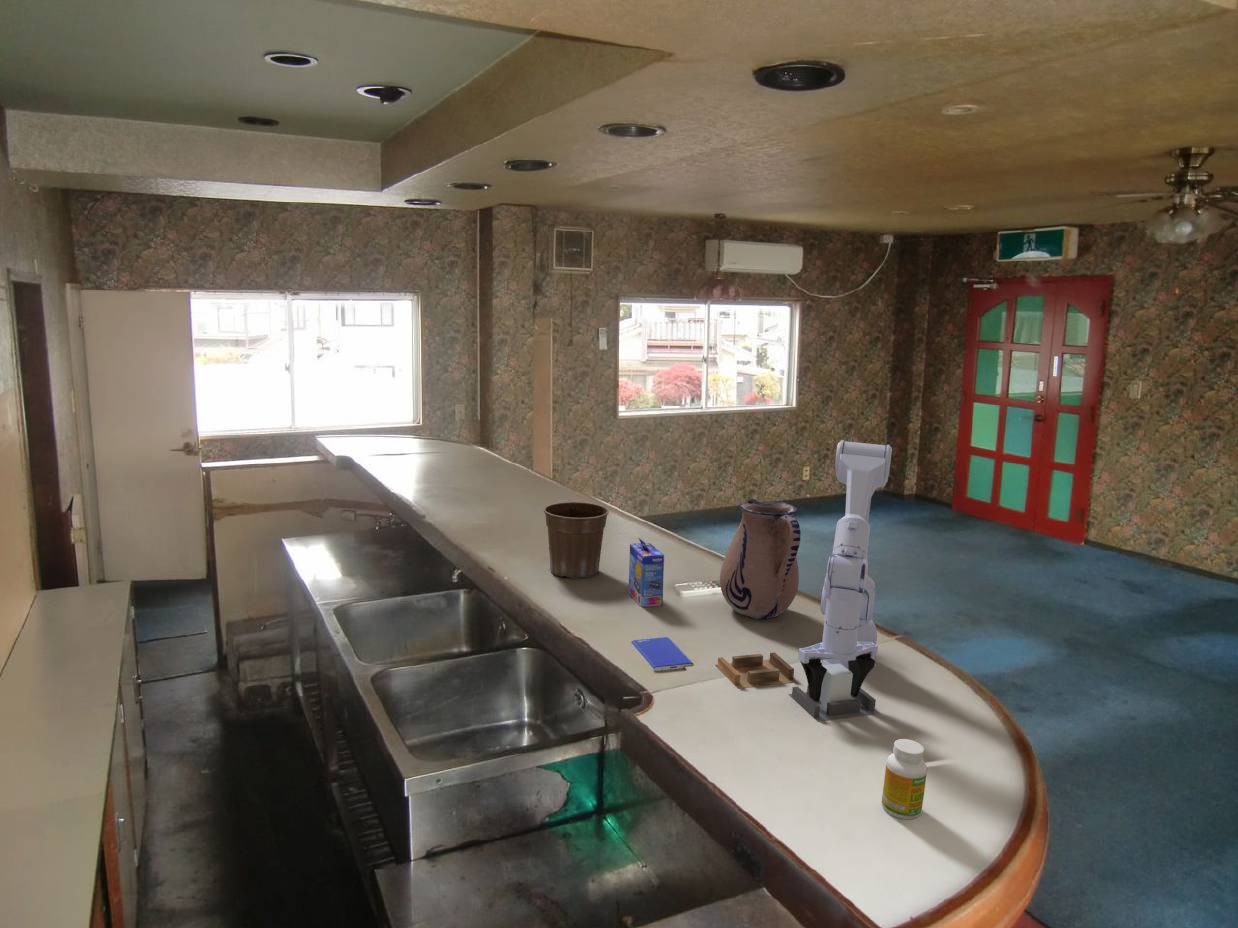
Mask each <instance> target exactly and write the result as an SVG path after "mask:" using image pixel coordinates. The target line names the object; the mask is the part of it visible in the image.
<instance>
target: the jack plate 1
mask: <svg viewBox="0 0 1238 928" xmlns="http://www.w3.org/2000/svg"><path fill="white" fill-rule="evenodd" d="M731 658H732V660H731V663H729V662H728V660H726V658H724V657H718V658H717V664H714V666H715V667H716V668H717V670H718V671H720V673H722V675H724V676H725V677H726V678H727V679H728V680H729V681H730V683H731V684H732V685H733V686H734V687H735V688H736V689H738V690H740V689H745V688H746V689H748V688H759V687H767V686H775V685H787V684H794V683H797V681H796V680H795V678H794V673H795V668H793V667H792V666H791V665H790V664H789V663H788V662H787V661H785V660H784V659H783V658H782V657H781V656H779V655H778V654H777V653H776V652H770V653H769V658H768V659H764V655H763V654H762V653H755V654H746V655H744V654H742V655H736V656H735V655H734V656H732V657H731Z"/></svg>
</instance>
